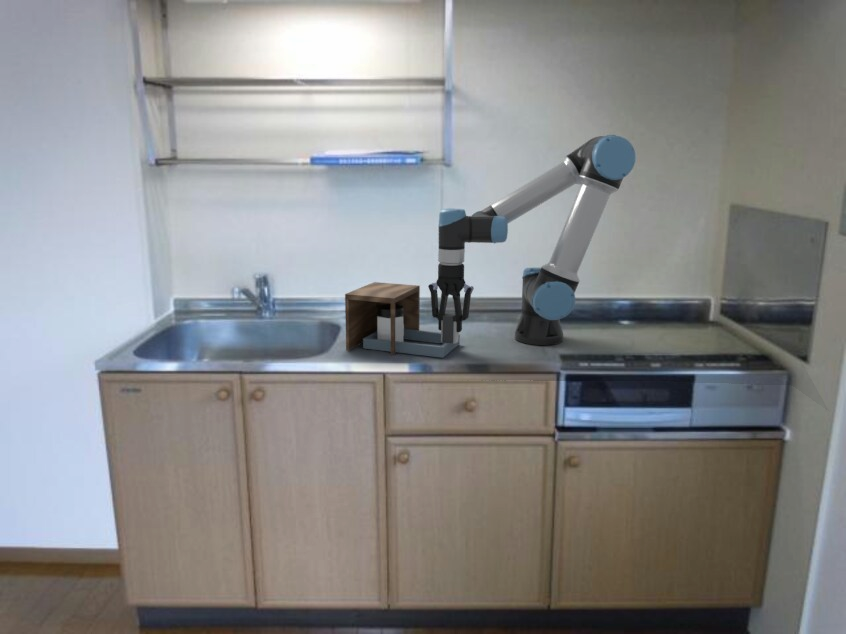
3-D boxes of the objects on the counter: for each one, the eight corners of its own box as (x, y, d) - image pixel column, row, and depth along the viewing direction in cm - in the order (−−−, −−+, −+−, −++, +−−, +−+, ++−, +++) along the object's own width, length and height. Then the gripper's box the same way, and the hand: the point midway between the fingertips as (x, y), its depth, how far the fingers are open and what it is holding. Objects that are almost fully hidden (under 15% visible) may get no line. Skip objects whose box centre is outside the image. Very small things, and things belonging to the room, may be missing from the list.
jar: (403, 348, 202) (403, 309, 199) (376, 348, 201) (376, 309, 198) (404, 340, 210) (404, 303, 207) (378, 340, 210) (377, 303, 207)
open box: (419, 338, 213) (419, 285, 209) (393, 355, 195) (393, 298, 191) (375, 333, 219) (374, 282, 215) (346, 349, 200) (345, 294, 196)
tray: (462, 344, 206) (463, 309, 203) (446, 358, 192) (446, 320, 189) (384, 335, 215) (383, 302, 212) (363, 348, 201) (362, 312, 198)
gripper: (481, 263, 194) (479, 341, 199) (429, 259, 199) (428, 335, 205) (474, 266, 187) (472, 347, 192) (420, 263, 192) (419, 341, 198)
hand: (449, 341), depth 199 cm, fingers closed on tray, 3 cm apart
